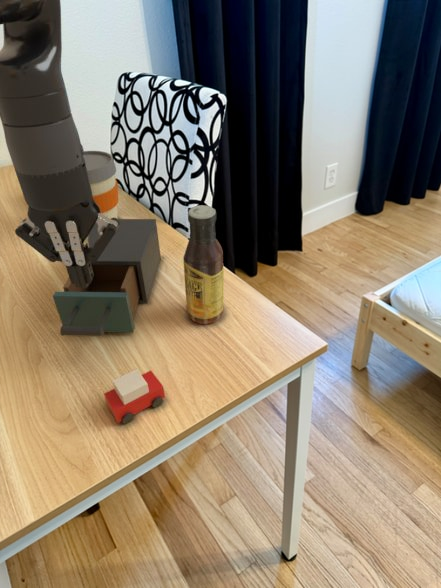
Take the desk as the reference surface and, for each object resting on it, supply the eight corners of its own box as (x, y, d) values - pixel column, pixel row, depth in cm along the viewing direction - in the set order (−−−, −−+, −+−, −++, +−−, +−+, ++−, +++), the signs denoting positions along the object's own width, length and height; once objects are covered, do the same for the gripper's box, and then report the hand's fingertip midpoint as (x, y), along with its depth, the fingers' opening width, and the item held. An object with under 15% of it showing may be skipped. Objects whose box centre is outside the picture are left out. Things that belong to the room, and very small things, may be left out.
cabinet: (147, 303, 76) (140, 261, 71) (78, 302, 77) (65, 260, 71) (161, 258, 88) (155, 218, 82) (100, 258, 89) (91, 218, 83)
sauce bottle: (181, 310, 75) (170, 206, 62) (213, 298, 77) (208, 196, 65) (198, 332, 70) (190, 225, 58) (231, 319, 72) (230, 213, 60)
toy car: (120, 427, 56) (113, 405, 53) (107, 405, 59) (100, 382, 56) (167, 402, 59) (163, 379, 56) (152, 382, 62) (147, 359, 59)
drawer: (125, 358, 65) (116, 322, 60) (51, 357, 65) (37, 321, 61) (149, 282, 80) (143, 249, 75) (89, 282, 81) (80, 248, 76)
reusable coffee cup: (100, 242, 94) (85, 176, 84) (59, 229, 99) (40, 165, 89) (136, 217, 102) (126, 155, 93) (96, 206, 107) (83, 147, 98)
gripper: (-26, 173, 45) (26, 302, 56) (99, 171, 45) (127, 300, 55) (4, 149, 51) (45, 269, 62) (115, 146, 50) (137, 267, 61)
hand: (84, 284), depth 58 cm, fingers closed
